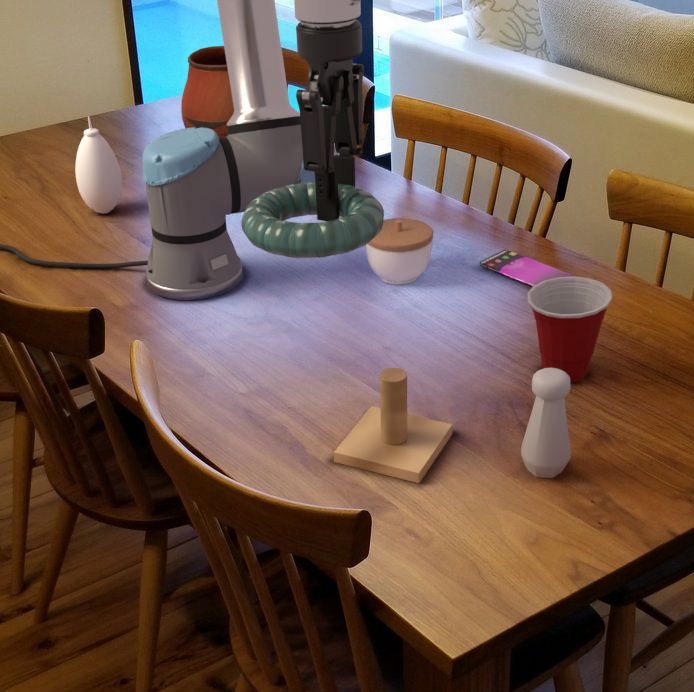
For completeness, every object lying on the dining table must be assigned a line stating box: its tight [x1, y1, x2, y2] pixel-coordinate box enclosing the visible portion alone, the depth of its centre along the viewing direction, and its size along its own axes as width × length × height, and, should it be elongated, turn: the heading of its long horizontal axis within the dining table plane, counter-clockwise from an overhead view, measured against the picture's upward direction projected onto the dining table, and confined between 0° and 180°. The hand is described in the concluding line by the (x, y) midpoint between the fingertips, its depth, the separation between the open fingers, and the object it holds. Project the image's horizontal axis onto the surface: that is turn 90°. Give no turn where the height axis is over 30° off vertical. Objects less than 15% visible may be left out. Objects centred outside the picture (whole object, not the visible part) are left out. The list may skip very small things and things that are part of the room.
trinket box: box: [365, 217, 434, 286], centre depth 168 cm, size 11×11×9 cm
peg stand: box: [333, 367, 454, 484], centre depth 128 cm, size 11×11×10 cm
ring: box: [241, 182, 385, 259], centre depth 129 cm, size 17×17×4 cm
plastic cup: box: [526, 275, 613, 384], centre depth 141 cm, size 11×11×12 cm
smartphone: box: [478, 248, 579, 287], centre depth 170 cm, size 7×15×1 cm, turn 45°
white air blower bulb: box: [74, 115, 123, 215], centre depth 193 cm, size 8×8×18 cm
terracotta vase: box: [180, 45, 234, 138], centre depth 199 cm, size 19×19×25 cm
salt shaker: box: [520, 368, 572, 479], centre depth 123 cm, size 6×6×13 cm
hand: (337, 212), depth 135 cm, fingers closed on ring, 4 cm apart
